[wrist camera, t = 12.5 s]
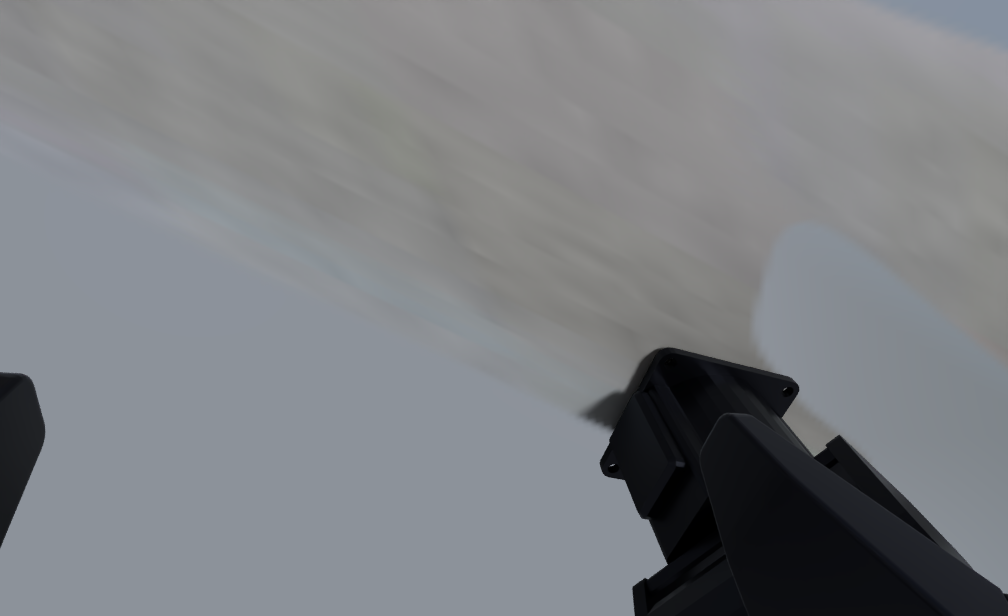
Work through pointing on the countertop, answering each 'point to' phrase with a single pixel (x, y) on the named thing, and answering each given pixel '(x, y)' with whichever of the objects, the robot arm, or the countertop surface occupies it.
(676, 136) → the countertop surface
